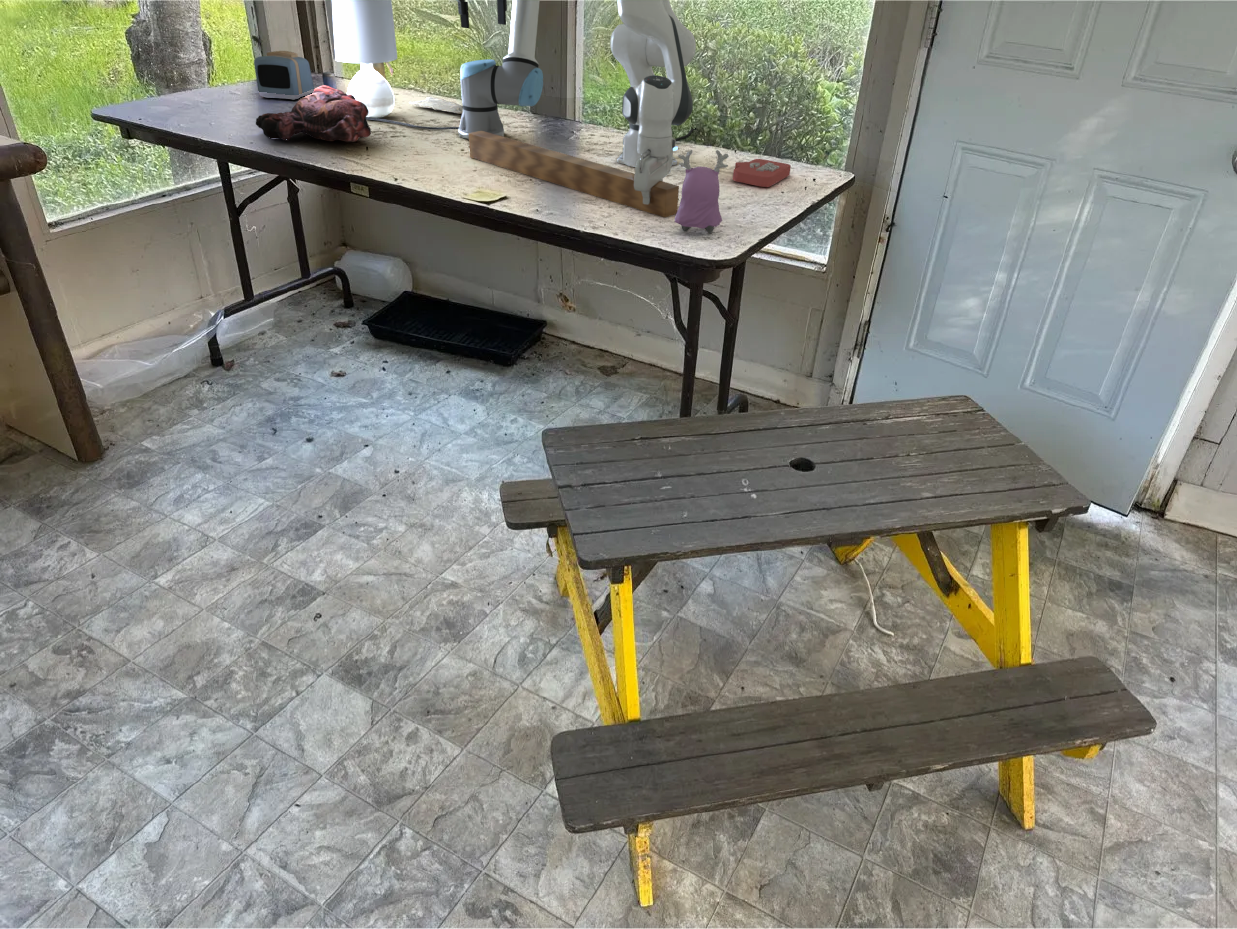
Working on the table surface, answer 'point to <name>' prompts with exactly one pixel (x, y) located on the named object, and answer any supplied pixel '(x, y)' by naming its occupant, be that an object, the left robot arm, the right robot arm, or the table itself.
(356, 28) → the lamp
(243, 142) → the table surface
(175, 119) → the table surface
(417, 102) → the stone tool
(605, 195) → the post
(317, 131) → the raw meat chunk
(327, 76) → the beverage can
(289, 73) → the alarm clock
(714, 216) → the toy character
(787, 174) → the plaque
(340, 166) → the table surface
